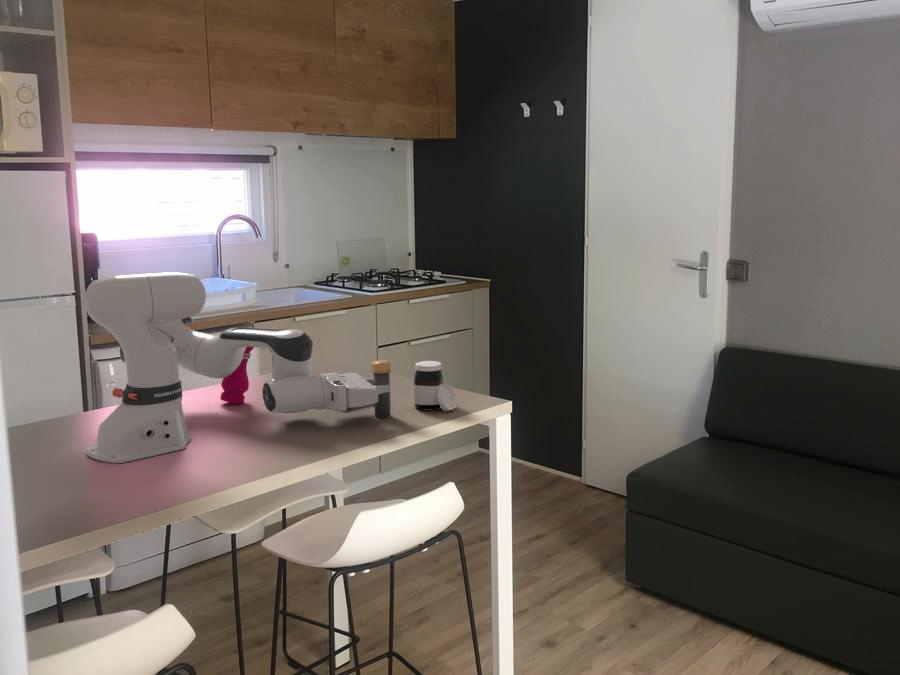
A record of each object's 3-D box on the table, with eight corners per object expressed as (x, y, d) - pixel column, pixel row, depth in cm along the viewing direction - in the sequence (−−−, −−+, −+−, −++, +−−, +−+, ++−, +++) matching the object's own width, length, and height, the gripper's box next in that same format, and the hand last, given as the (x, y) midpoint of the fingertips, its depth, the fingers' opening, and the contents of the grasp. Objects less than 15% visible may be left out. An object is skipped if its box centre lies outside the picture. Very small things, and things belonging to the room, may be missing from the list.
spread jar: (417, 401, 228) (416, 359, 226) (459, 402, 227) (458, 359, 225) (410, 413, 216) (409, 369, 214) (455, 414, 215) (454, 369, 213)
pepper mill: (241, 405, 225) (256, 331, 223) (215, 399, 225) (229, 326, 223) (248, 401, 232) (262, 330, 231) (222, 396, 232) (236, 325, 231)
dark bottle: (383, 419, 211) (381, 365, 208) (369, 416, 214) (367, 362, 211) (396, 415, 214) (394, 361, 212) (382, 412, 217) (380, 359, 215)
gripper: (322, 393, 218) (373, 388, 223) (342, 413, 199) (397, 406, 204) (321, 369, 217) (373, 364, 222) (341, 387, 198) (397, 381, 203)
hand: (385, 385), depth 213 cm, fingers open, 5 cm apart
